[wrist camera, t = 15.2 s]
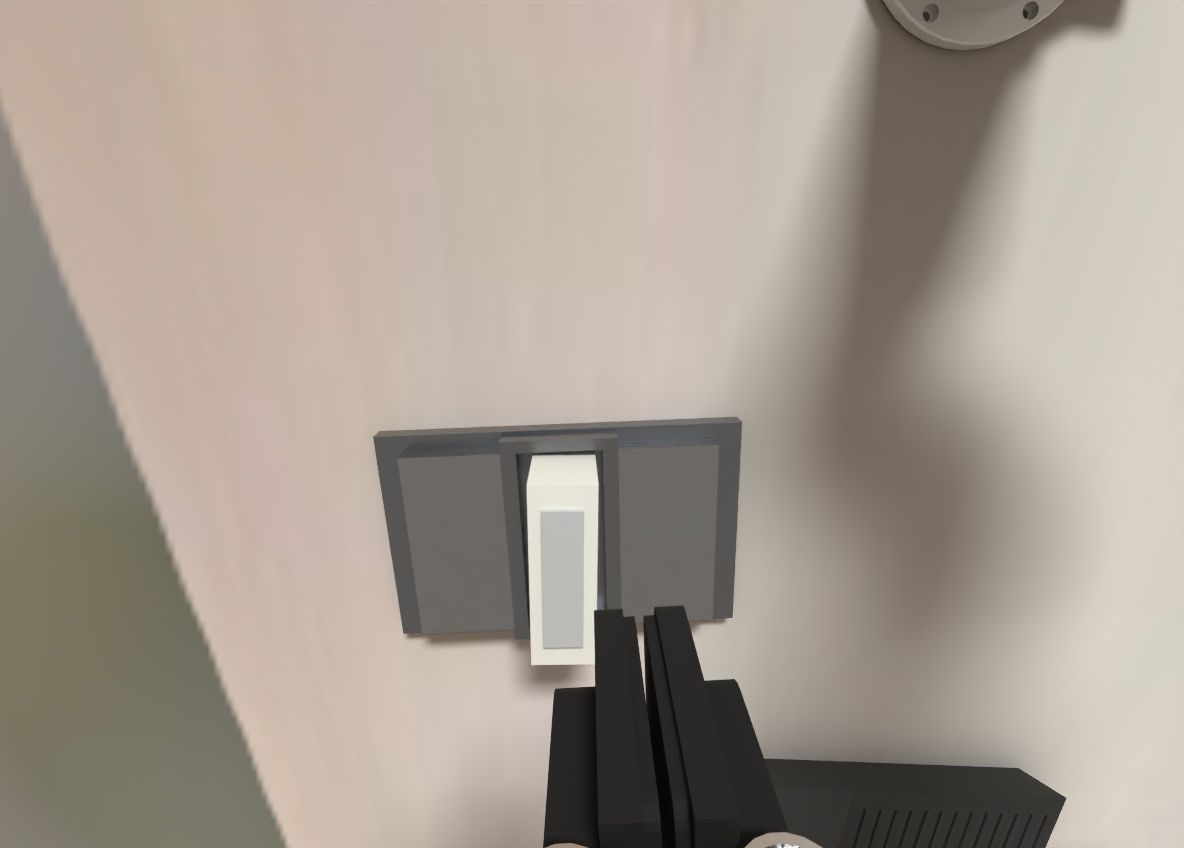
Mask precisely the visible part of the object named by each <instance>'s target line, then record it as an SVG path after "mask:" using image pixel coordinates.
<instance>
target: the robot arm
mask: <svg viewBox="0 0 1184 848" xmlns="http://www.w3.org/2000/svg"><path fill="white" fill-rule="evenodd" d="M883 1H884V3H885V4H886V6H887V7H888V9H889V11H890V12H891V14H892V15H893V17H894V18H895V19H896V20H897V21H898V22H899V23H900V24H901V25H902V26H903V27H904V28H905V29H906V30H907V31H908V32H910V33H912V34H913V35H915V36H916V37H918V38H920V39H921V40H923V41H924V42H926V43H929V44H932V45H935V46H938V47H942V48H945V49H956V50H971V49H979V48H986V47H989V46H992V45H995V44H997V43H1000V42H1003V41H1006V40H1008V39H1010V38H1012V37H1014V36H1016V35H1018V34H1020V33H1022V32H1024V31H1026V30H1028V29H1030V28H1031V27H1033V26H1034V25H1035V24H1037V23H1038V22H1040V21H1041V20H1043V19H1044V18H1046V17H1047V16H1048V15H1050V14H1051V13H1052V12H1053V11H1054V10H1055V9H1056V8H1057V7H1058V6H1059V5H1060V4H1061V3H1062V2H1063V1H1064V0H883ZM923 16H924V18H925V20H924V19H923ZM643 623H644V653H645V684H646V700H645V692H644V685H643V677H642V669H641V661H640V654H639V646H638V638H637V630H636V623H635V616H627V617H623V609H605V610H594V642H595V687H580V688H561V689H555V692H554V701H553V715H552V729H551V744H550V758H549V772H548V786H547V801H546V815H545V829H544V843H543V848H822V847H821V846H819V845H817V844H815V843H814V842H812V841H810V840H808V839H806V838H805V837H802V836H798V835H794V834H790V833H789V831H788V828H787V825H786V822H785V819H784V816H783V813H782V810H781V808H780V805H779V802H778V799H777V796H776V793H775V790H774V787H773V784H772V781H771V778H770V775H769V772H768V770H767V767H766V764H765V761H764V758H763V755H762V752H761V749H760V746H759V743H758V740H757V737H756V734H755V731H754V729H753V726H752V723H751V720H750V717H749V714H748V711H747V708H746V705H745V702H744V699H743V696H742V693H741V691H740V688H739V686H738V683H737V682H736V680H735V679H730V680H711V681H704V678H703V674H702V671H701V667H700V663H699V660H698V656H697V652H696V648H695V645H694V641H693V637H692V633H691V630H690V626H689V622H688V618H687V615H686V611H685V608H684V606H683V605H679V606H660V607H654V615H645V616H644V617H643Z"/></svg>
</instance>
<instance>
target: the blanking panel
mask: <svg viewBox="0 0 1184 848" xmlns="http://www.w3.org/2000/svg"><path fill="white" fill-rule="evenodd" d="M598 491H599V484H598V475H597V466H596V457H595V450H591V451H566V452H542V453H533V456H532V461H531V466H530V471H529V475H528V480H527V522H528V559H529V597H530V635H531V665H573V664H595V642H594V610H597V562H598Z"/></svg>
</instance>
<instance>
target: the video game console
mask: <svg viewBox="0 0 1184 848" xmlns="http://www.w3.org/2000/svg"><path fill="white" fill-rule="evenodd" d="M764 761H765V764H766V767H767V770H768V772H769V775H770V778H771V781H772V784H773V787H774V790H775V793H776V796H777V799H778V802H779V805H780V808H781V810H782V813H783V816H784V819H785V822H786V825H787V828H788V831H789V833H790V834H794V835H798V836H802V837H805V838H806V839H808V840H810V841H812V842H814V843H815V844H817V845H819V846H821V847H822V848H1045V847H1046V845H1047V842H1048V840H1049V838H1050V835H1051V833H1052V831H1053V828H1054V826H1055V824H1056V821H1057V819H1058V817H1059V814H1060V812H1061V810H1062V807H1063V805H1064V803H1065V800H1066V798H1065V797H1064V796H1062V795H1060V794H1059V793H1057V792H1056V791H1054V790H1052V789H1051V788H1049V787H1048V786H1046V785H1044V784H1043V783H1041V782H1040V781H1038V780H1036V779H1035V778H1033V777H1032V776H1030V775H1028V774H1027V773H1025V772H1024V771H1022V770H1020V769H1019V768H997V767H971V766H944V765H918V764H891V763H865V762H838V761H812V760H786V759H764Z"/></svg>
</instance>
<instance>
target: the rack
mask: <svg viewBox="0 0 1184 848" xmlns="http://www.w3.org/2000/svg"><path fill="white" fill-rule="evenodd" d="M741 429H742V422H741V421H740V420H739V419H738V418H737V417H726V418H701V419H676V420H652V421H627V422H602V423H577V424H552V425H528V426H503V427H478V428H453V429H428V430H403V431H379V432H378V433H377V434H376V435H375V436H374V437H373V438H374V445H375V451H376V458H377V464H378V470H379V477H380V483H381V490H382V496H383V503H384V509H385V516H386V522H387V529H388V535H389V542H390V548H391V555H392V561H393V568H394V574H395V581H396V587H397V594H398V600H399V607H400V613H401V620H402V626H403V633H422V634H433V633H453V632H474V631H495V630H515V639H530V638H531V635H530V597H529V559H528V522H527V480H528V475H529V471H530V466H531V461H532V456H533V453H542V452H566V451H591V450H595V457H596V466H597V475H598V484H599V491H598V562H597V610H605V609H623V617H627V616H635V623H636V624H640V623H643V617H644V616H645V615H654V607H660V606H679V605H683V606H684V608H685V611H686V615H687V618H688V621H702V620H713V619H715V618H732V617H733V596H734V575H735V554H736V533H737V512H738V491H739V471H740V450H741Z"/></svg>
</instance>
